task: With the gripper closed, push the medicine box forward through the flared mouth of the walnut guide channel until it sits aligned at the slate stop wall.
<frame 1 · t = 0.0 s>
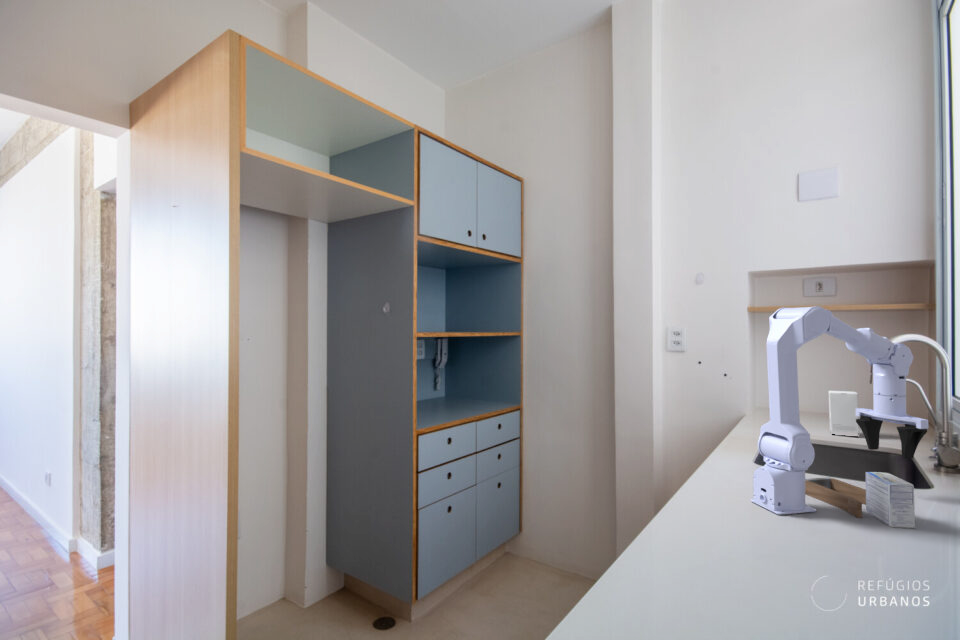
hand: (890, 453, 108), 10 cm above the counter, fingers open, 7 cm apart
skincare box: (843, 435, 168), on the counter
guide channel: (838, 500, 106), on the counter
medicine box: (889, 521, 95), on the counter
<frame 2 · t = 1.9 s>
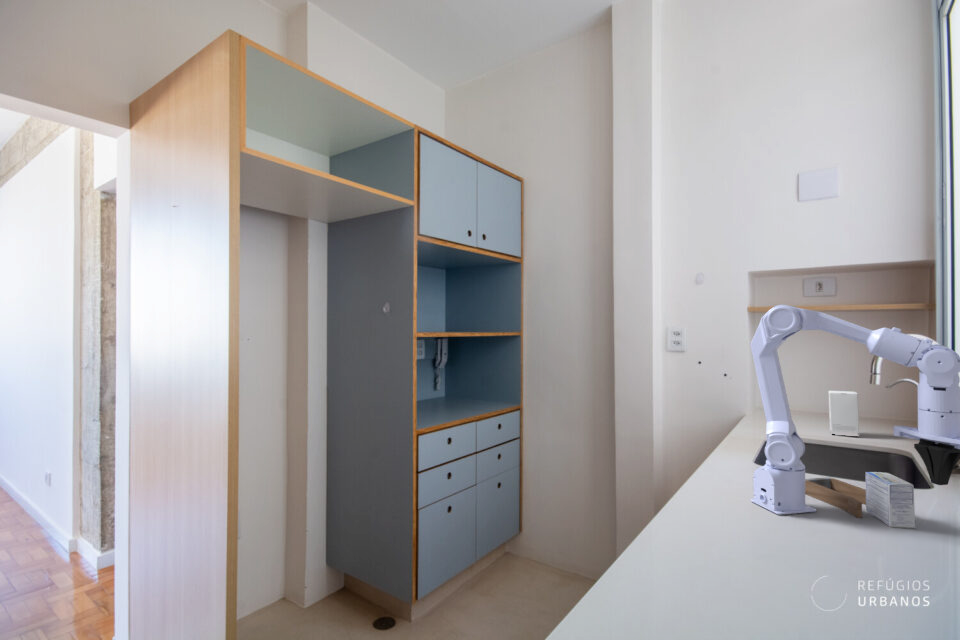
hand: (939, 483, 87), 10 cm above the counter, fingers closed
nothing on the counter moved.
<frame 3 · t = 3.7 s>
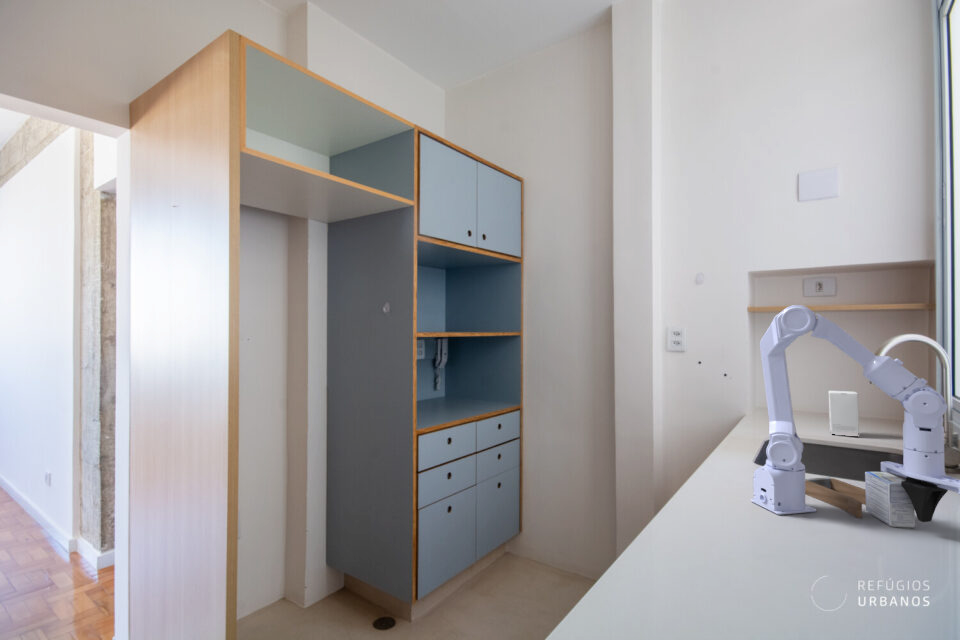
hand: (924, 520, 89), 2 cm above the counter, fingers closed
medicine box: (889, 520, 95), on the counter, touching gripper
everything else where it was.
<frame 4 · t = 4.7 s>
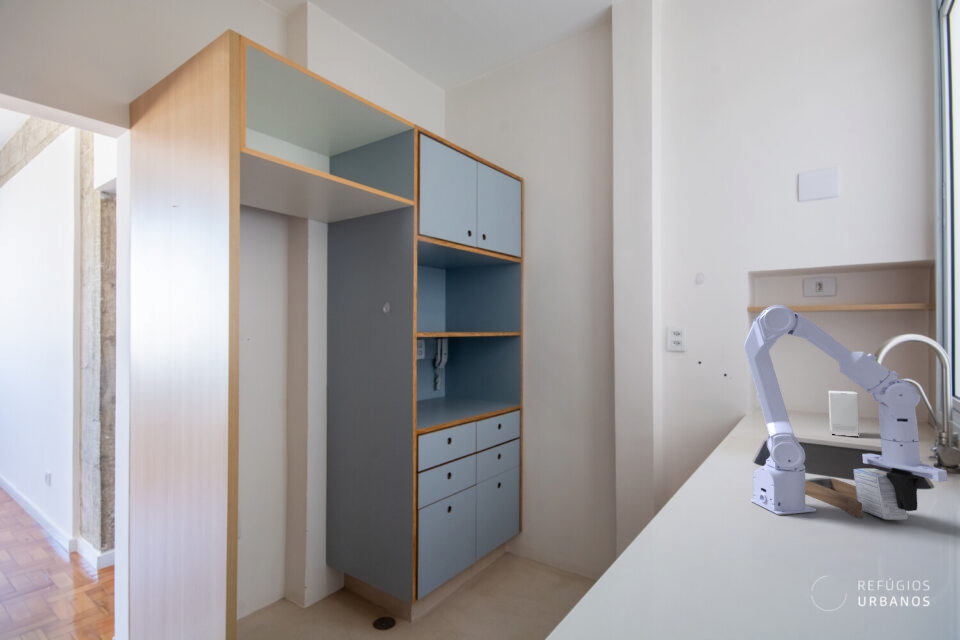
hand: (905, 508, 93), 3 cm above the counter, fingers closed, pressing on medicine box
medicine box: (882, 515, 97), on the counter, touching gripper, guide channel
everything else where it was.
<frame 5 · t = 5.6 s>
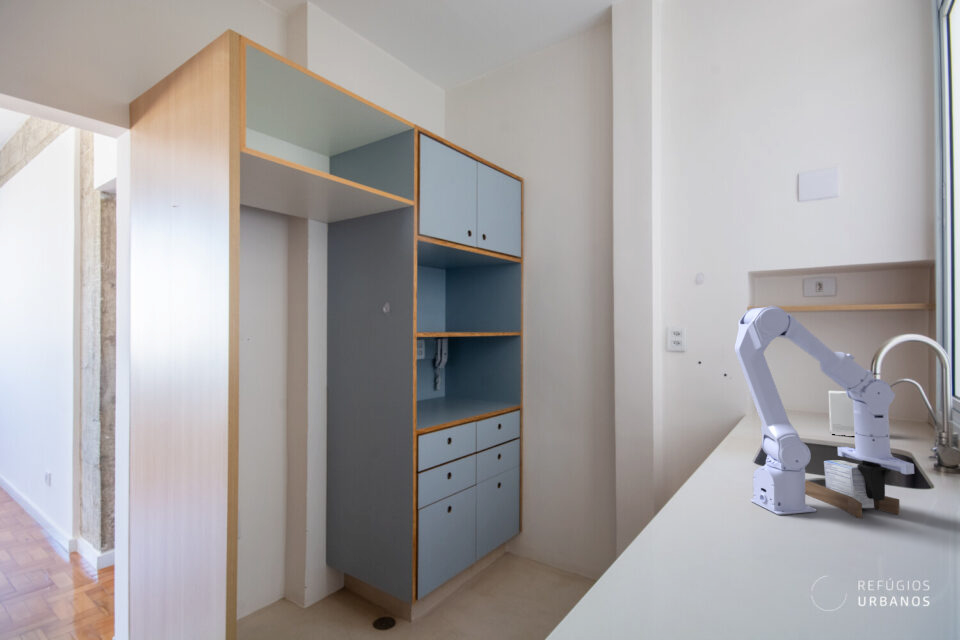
hand: (875, 498, 99), 3 cm above the counter, fingers closed, pressing on medicine box
medicine box: (849, 504, 103), on the counter, touching gripper
everything else where it was.
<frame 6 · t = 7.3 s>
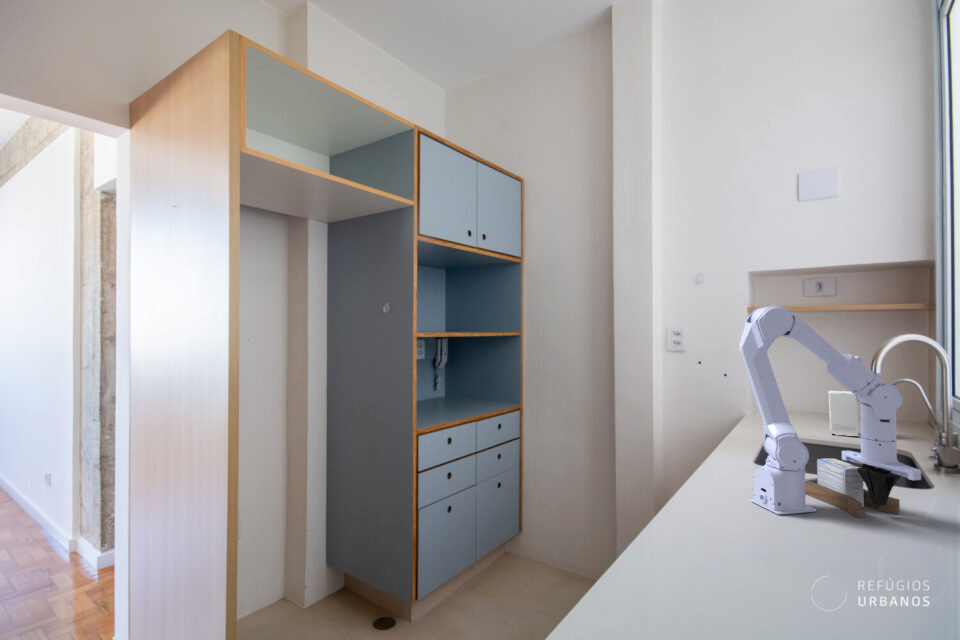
hand: (879, 504, 97), 2 cm above the counter, fingers closed
medicine box: (839, 502, 105), on the counter
everything else where it was.
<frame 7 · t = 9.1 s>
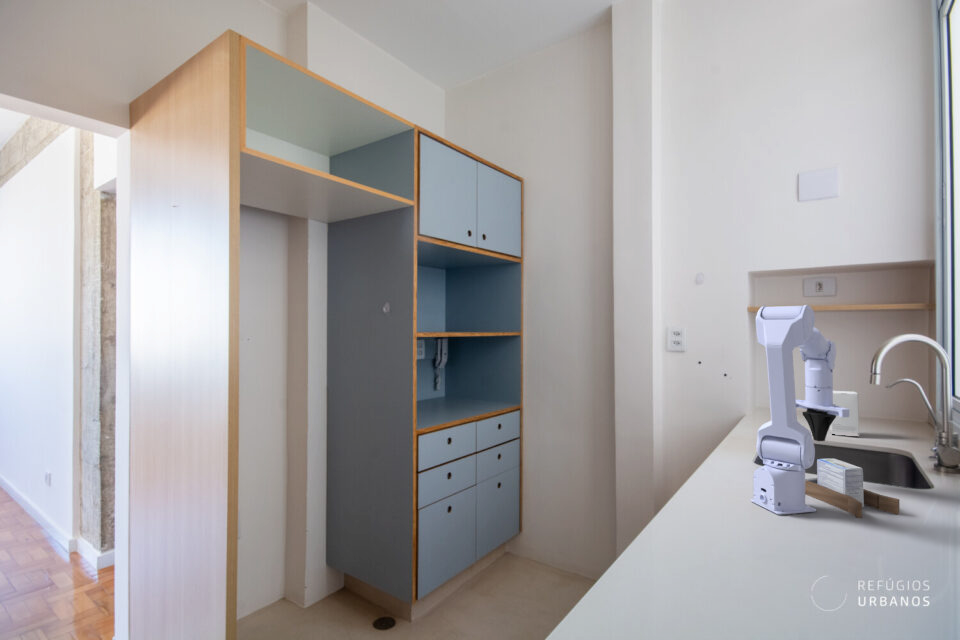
hand: (819, 440, 118), 11 cm above the counter, fingers closed
nothing on the counter moved.
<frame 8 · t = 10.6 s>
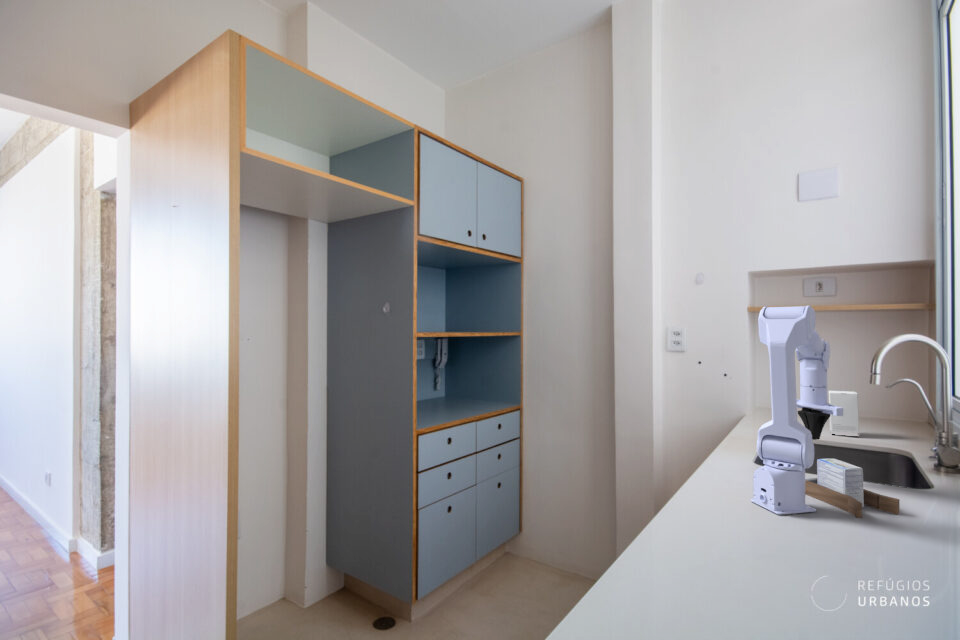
hand: (814, 438, 120), 10 cm above the counter, fingers closed
nothing on the counter moved.
at the end: medicine box 1.0 cm off-centre on the guide channel, point 0.0 cm above the guide channel's base; medicine box tilted 0°; medicine box moved 10.3 cm from its start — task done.
